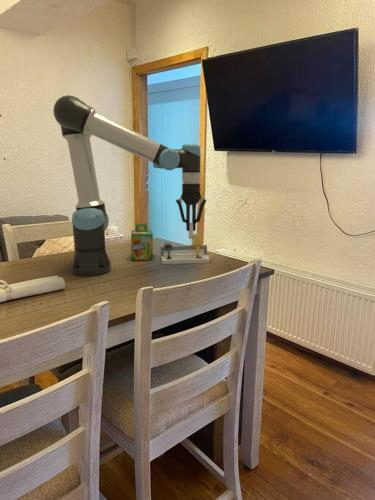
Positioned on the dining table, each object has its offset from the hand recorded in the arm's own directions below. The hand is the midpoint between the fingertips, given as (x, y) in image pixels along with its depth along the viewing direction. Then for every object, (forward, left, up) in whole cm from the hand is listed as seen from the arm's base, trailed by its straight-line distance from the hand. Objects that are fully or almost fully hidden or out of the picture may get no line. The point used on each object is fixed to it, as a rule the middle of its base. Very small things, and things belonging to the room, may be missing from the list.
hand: (190, 238), depth 165 cm
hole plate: (-3, -3, -9) cm, 10 cm away
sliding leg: (+2, -2, -7) cm, 7 cm away
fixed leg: (-10, -2, -7) cm, 13 cm away
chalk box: (-21, +3, -9) cm, 23 cm away
